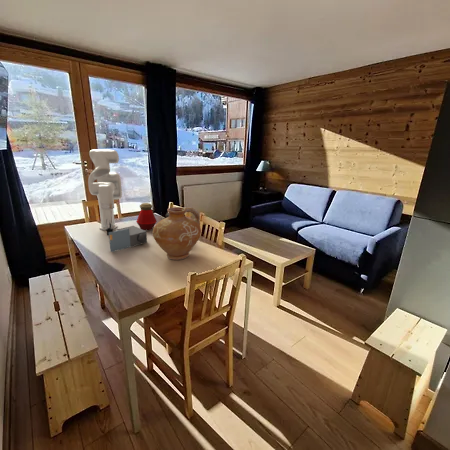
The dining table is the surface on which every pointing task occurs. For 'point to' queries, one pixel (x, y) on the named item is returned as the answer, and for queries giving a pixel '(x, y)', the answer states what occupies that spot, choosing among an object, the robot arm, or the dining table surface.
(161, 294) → the dining table surface
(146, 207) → the bottle
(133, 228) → the box
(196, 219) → the jug
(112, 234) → the side door
